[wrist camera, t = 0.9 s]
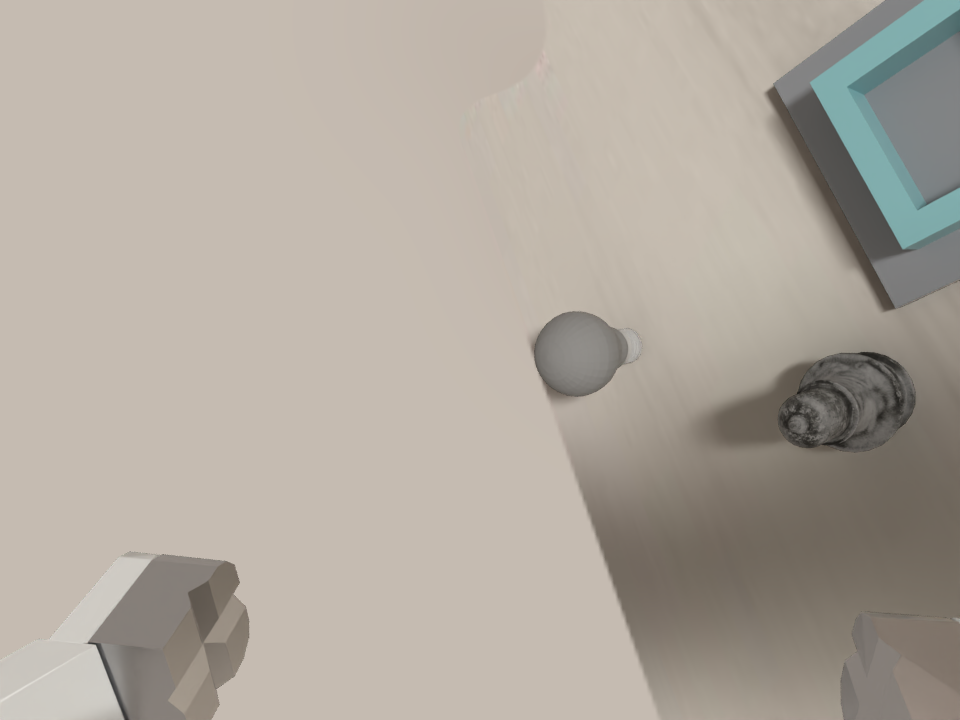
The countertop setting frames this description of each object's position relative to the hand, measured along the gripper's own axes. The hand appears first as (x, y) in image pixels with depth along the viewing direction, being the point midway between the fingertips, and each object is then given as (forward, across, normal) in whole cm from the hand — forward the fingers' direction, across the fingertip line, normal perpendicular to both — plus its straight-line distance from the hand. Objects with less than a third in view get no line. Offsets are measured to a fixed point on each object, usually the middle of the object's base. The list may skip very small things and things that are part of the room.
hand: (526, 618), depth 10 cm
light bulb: (+46, -3, +18) cm, 50 cm away
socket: (+39, -21, 0) cm, 44 cm away
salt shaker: (+36, -18, +17) cm, 44 cm away
